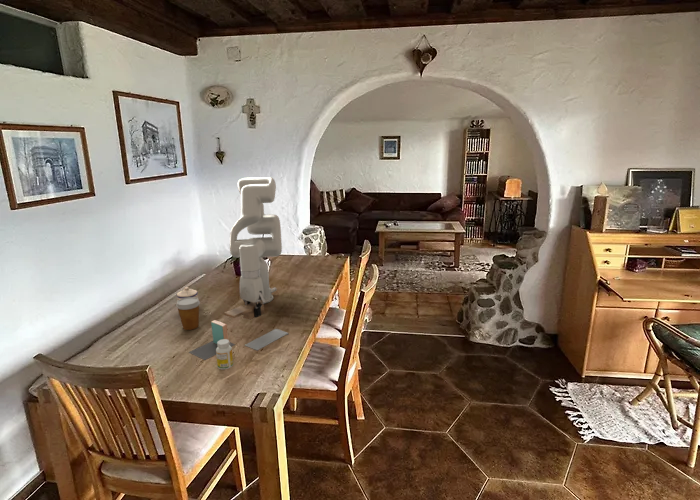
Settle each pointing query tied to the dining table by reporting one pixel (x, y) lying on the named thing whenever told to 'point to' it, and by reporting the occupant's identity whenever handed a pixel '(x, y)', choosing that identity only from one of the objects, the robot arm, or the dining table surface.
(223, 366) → the supplement bottle
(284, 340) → the dining table surface
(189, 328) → the disposable coffee cup
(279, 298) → the dining table surface
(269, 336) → the rest
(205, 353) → the mat
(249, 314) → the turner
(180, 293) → the teacup with lid
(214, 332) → the tile
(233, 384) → the dining table surface
